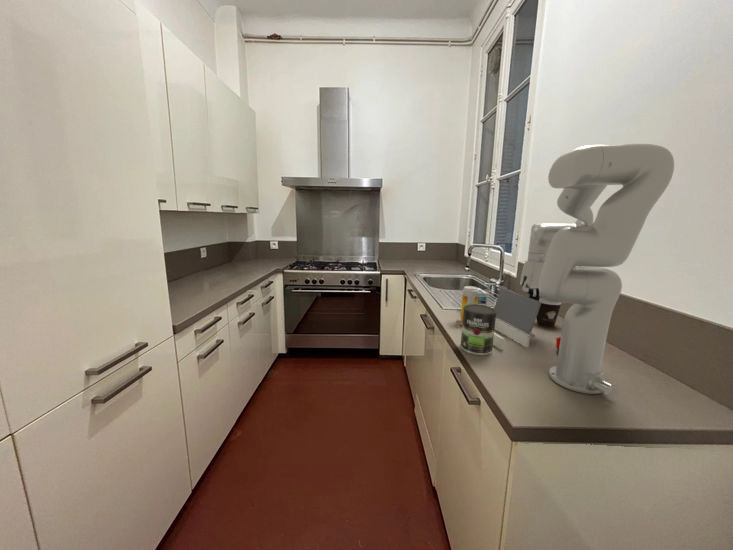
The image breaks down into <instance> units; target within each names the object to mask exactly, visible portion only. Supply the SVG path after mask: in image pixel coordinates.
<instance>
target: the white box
mask: <svg viewBox="0 0 733 550" xmlns="http://www.w3.org/2000/svg"><path fill="white" fill-rule="evenodd" d="M494 331H497V332H499V333H500V332H501V333H500V334H502V335H503V336H505V335H506V337H507V338H509V339H511V340H512V339H513V340H512V341H514V342H516V343H517V344H519V343H520V344H519V345H521V344H522V346H523V347H524V348H529V346H530V345H529V344H530V337H532V338H535V337H536V335H535V333H532V332H530V334H529V335H528V334H526V333H524V332H522V331H521V330H519V329H517V328H515V327H513V326H511V325H509V324H507V323H505V322H503V321H501V320H499V319H497V318H496V320H495V328H494ZM503 336H501V335H499V334H498V333H496V332H494V337H493V346H494V347H496V348H497V349H499V350H500V351H502V350H504V348H505V347H504V346H505V345H504V344H505V338H504V337H503Z"/></svg>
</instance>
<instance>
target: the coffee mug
mask: <svg viewBox="0 0 733 550" xmlns="http://www.w3.org/2000/svg"><path fill="white" fill-rule="evenodd" d="M539 301H540V302H542V303H541V305H540V308H539V311H538V314H537V317H536V324H537V325H538V326H539V327H544V328H554V327H555V325H556V322H557V319H558V315H559V312H560V309H561V305H562V303H559V302H550V301H547V300H545V299H543V298H539Z"/></svg>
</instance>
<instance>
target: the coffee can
mask: <svg viewBox="0 0 733 550" xmlns="http://www.w3.org/2000/svg"><path fill="white" fill-rule="evenodd" d="M494 308H495V307H491V306H488V305H487V306H484V305H474V304H472V305H466V306H464V308H463V309H464V313H463V324H462V325H461V337H460V345H459V346H460V349H461V350H463V352H466V353H468V354H471V355H475V356H476V355H477V356H488V355H491V354H492V353H493V346H494V345H493V337H494V333H495V329H494V328H495V320H496V319H497V318H496V314H497V311H496V310H495V309H494Z"/></svg>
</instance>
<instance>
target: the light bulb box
mask: <svg viewBox="0 0 733 550" xmlns="http://www.w3.org/2000/svg"><path fill="white" fill-rule="evenodd" d="M477 288H478V290H479V293H478V304H477V305H484V306H488V300H489V299H488V298H489V293H488V292H487V291H485V290H483V289H481V288H480V287H477Z"/></svg>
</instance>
